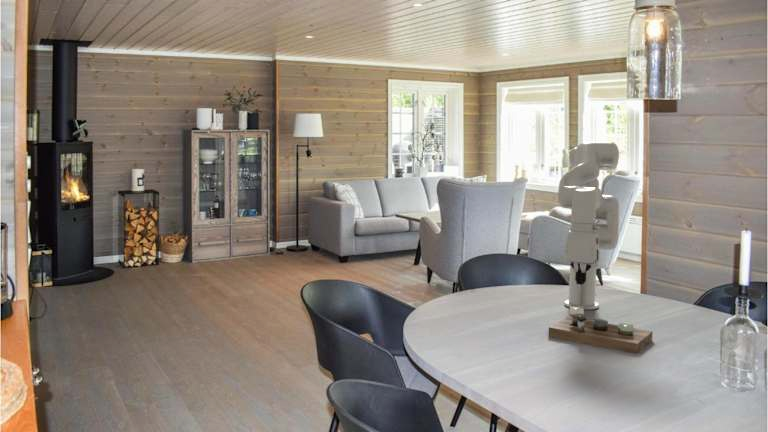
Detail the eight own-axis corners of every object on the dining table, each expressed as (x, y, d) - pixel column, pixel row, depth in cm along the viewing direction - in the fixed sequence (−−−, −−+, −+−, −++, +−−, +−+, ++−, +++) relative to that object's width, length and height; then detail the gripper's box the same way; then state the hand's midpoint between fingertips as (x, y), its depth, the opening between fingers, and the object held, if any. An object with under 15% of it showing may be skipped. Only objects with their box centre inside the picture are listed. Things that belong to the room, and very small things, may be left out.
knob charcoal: (595, 334, 227) (596, 318, 226) (609, 336, 224) (609, 320, 224) (590, 337, 223) (591, 321, 223) (604, 340, 221) (605, 323, 220)
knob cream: (572, 321, 231) (572, 306, 231) (585, 324, 229) (585, 308, 228) (567, 324, 228) (567, 308, 227) (580, 327, 225) (580, 311, 224)
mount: (567, 325, 238) (567, 316, 238) (652, 340, 222) (652, 331, 222) (548, 336, 226) (548, 327, 225) (636, 353, 209) (637, 343, 209)
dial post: (577, 329, 223) (578, 314, 222) (587, 331, 221) (588, 316, 220) (573, 332, 220) (574, 316, 220) (583, 333, 218) (584, 318, 218)
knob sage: (620, 338, 222) (621, 322, 221) (634, 341, 220) (635, 325, 219) (615, 342, 219) (616, 325, 218) (630, 344, 216) (630, 328, 215)
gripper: (610, 228, 222) (607, 284, 225) (564, 224, 231) (562, 278, 233) (602, 231, 216) (599, 289, 219) (556, 226, 225) (553, 282, 227)
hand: (580, 283), depth 226 cm, fingers closed
